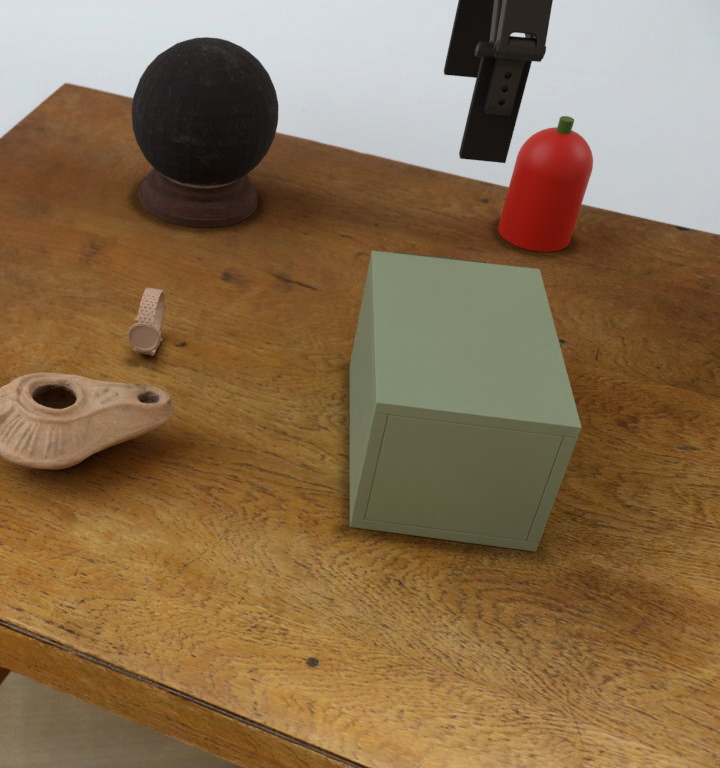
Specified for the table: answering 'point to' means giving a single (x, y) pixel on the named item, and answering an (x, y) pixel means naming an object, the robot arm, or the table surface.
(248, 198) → the black ball on stand
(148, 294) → the wristwatch
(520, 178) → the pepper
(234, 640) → the table surface
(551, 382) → the cabinet
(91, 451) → the pottery oil lamp
